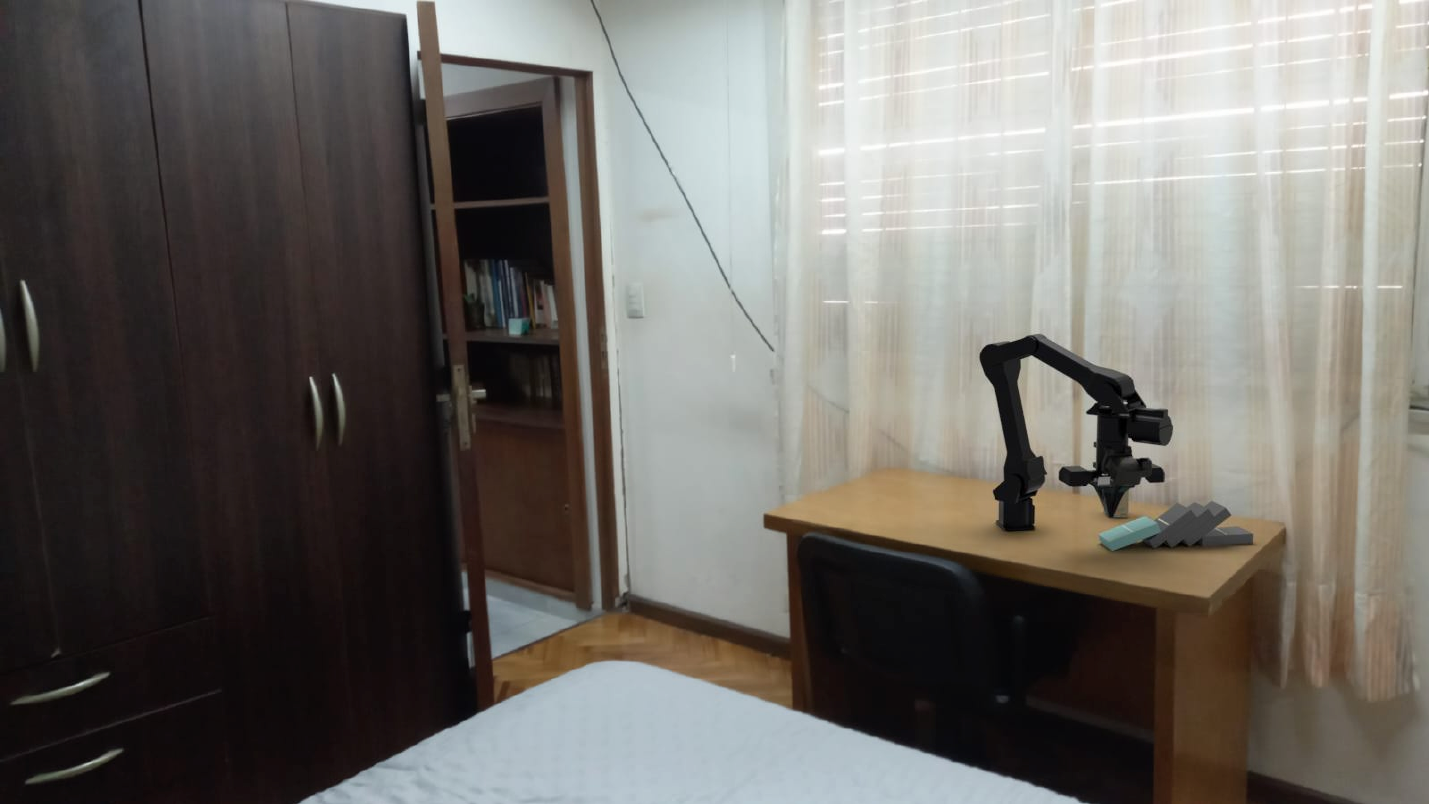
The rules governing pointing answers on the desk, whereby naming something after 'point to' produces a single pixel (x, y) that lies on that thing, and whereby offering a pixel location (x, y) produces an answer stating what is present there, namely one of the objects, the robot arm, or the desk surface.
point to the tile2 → (1170, 524)
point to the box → (1122, 505)
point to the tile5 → (1226, 537)
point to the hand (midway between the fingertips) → (1109, 517)
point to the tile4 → (1208, 523)
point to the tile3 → (1191, 524)
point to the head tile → (1129, 533)
